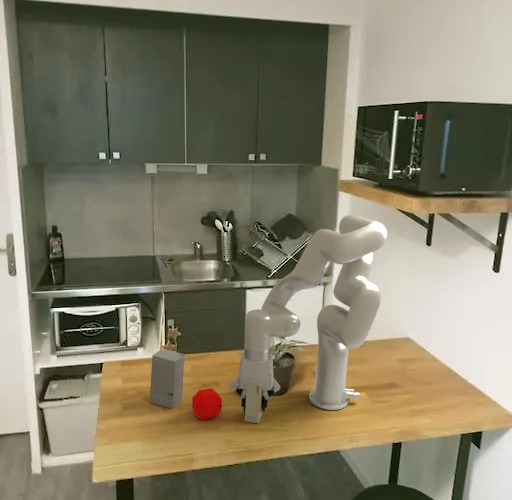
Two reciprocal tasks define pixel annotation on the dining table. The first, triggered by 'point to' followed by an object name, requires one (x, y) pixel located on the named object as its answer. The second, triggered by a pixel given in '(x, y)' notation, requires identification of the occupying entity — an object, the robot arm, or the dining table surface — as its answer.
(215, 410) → the ball
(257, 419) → the skincare box
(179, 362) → the skincare box
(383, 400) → the dining table surface
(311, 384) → the dining table surface
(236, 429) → the dining table surface
